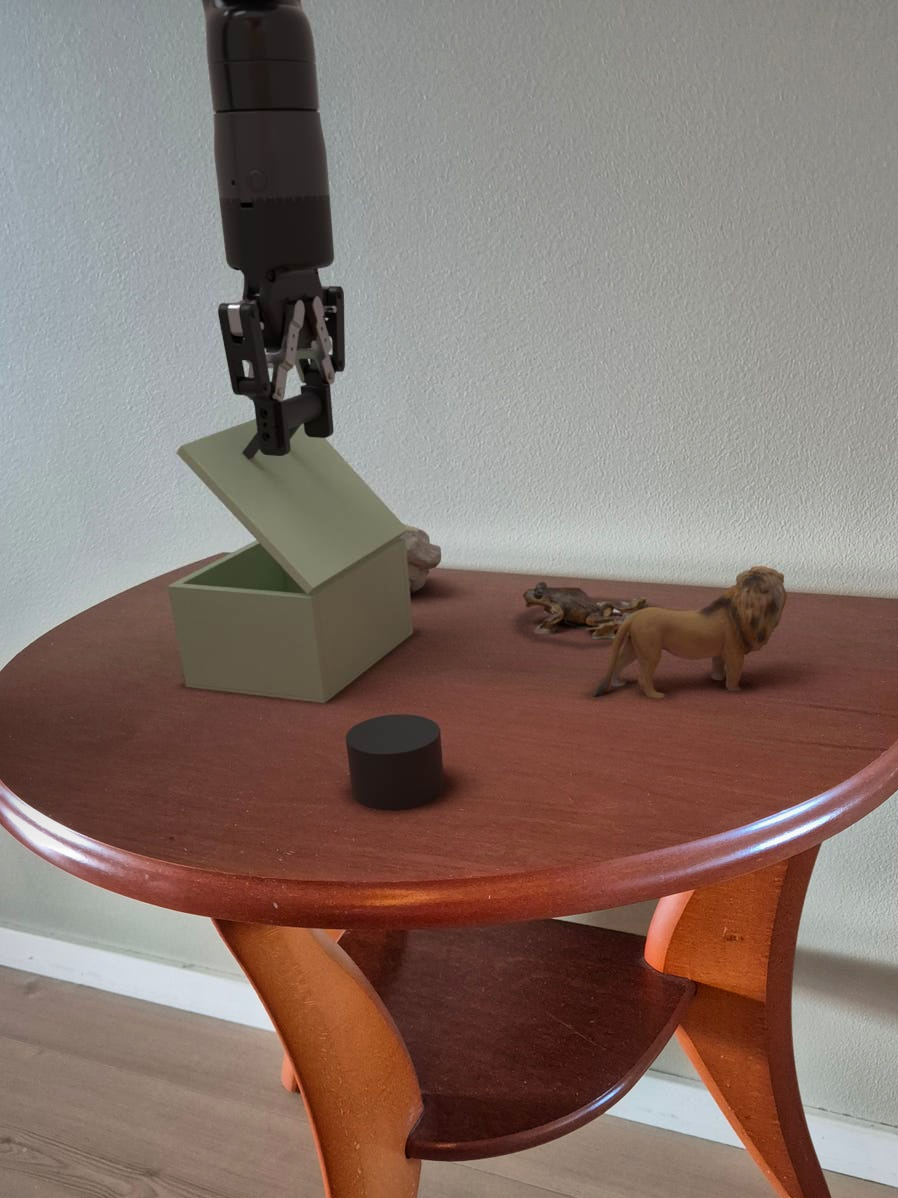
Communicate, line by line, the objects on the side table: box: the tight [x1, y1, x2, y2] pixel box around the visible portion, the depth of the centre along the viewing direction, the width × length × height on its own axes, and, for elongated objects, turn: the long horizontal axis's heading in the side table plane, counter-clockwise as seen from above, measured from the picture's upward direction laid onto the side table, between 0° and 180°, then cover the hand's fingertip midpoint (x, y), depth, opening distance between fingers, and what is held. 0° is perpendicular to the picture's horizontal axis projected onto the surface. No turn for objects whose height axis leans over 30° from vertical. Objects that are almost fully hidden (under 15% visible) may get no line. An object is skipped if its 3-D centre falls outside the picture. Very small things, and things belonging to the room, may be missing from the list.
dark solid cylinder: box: [345, 713, 445, 812], centre depth 76 cm, size 6×6×4 cm
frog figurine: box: [522, 581, 649, 640], centre depth 102 cm, size 12×12×4 cm
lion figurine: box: [592, 565, 788, 699], centre depth 87 cm, size 15×5×9 cm, turn 102°
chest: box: [167, 538, 414, 704], centre depth 96 cm, size 13×16×9 cm
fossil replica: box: [399, 522, 442, 594], centre depth 112 cm, size 12×8×10 cm
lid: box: [176, 392, 408, 594], centre depth 90 cm, size 14×16×6 cm
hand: (298, 444), depth 89 cm, fingers closed on lid, 6 cm apart
